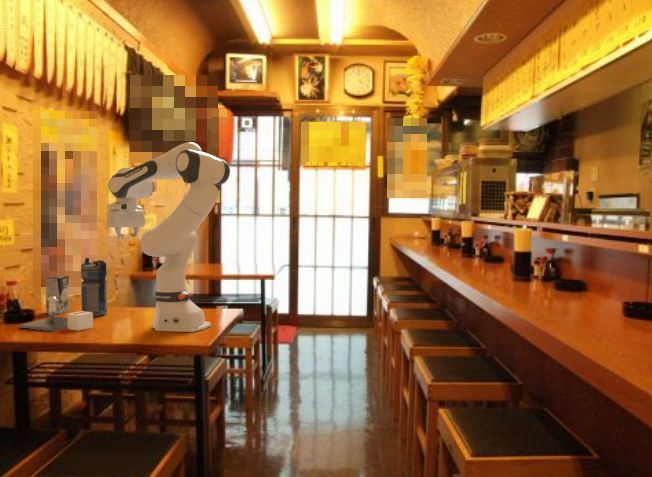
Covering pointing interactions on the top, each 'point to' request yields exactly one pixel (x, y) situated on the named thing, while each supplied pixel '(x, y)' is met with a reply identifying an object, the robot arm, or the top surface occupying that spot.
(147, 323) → the top surface
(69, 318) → the white cube
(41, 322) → the post stand
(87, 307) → the beverage bottle
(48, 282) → the coffee box
